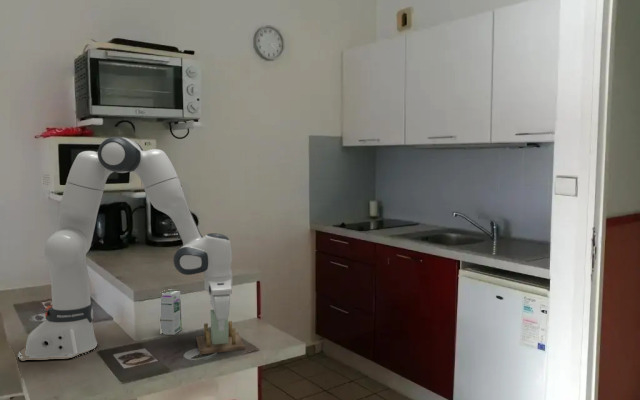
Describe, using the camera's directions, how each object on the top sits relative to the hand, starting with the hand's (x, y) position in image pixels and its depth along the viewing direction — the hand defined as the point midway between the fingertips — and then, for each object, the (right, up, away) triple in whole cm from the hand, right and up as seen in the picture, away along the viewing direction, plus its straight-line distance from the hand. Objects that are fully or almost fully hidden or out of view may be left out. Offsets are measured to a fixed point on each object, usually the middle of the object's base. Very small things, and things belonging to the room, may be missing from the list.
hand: (219, 325), depth 173 cm
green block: (0, -5, 0) cm, 5 cm away
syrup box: (-20, -6, +13) cm, 24 cm away
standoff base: (0, -6, +1) cm, 6 cm away
